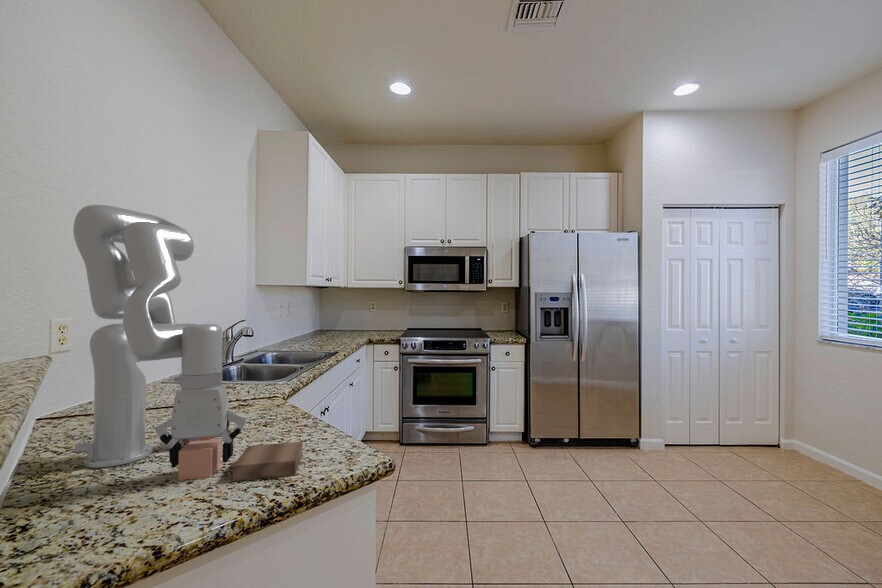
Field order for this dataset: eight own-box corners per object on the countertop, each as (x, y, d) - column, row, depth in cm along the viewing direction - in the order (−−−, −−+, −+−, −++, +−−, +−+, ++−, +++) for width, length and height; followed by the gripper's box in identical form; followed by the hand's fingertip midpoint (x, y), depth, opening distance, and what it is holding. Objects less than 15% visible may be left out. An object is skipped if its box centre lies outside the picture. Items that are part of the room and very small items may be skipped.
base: (232, 481, 79) (232, 465, 79) (248, 458, 91) (248, 445, 91) (295, 475, 82) (295, 460, 82) (302, 454, 93) (302, 441, 94)
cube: (178, 480, 80) (178, 451, 80) (190, 469, 85) (190, 441, 86) (210, 477, 81) (211, 448, 81) (220, 466, 87) (220, 439, 87)
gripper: (147, 387, 78) (146, 474, 78) (241, 382, 82) (241, 464, 81) (165, 381, 86) (164, 460, 85) (250, 376, 89) (250, 452, 89)
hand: (201, 462), depth 83 cm, fingers open, 9 cm apart
